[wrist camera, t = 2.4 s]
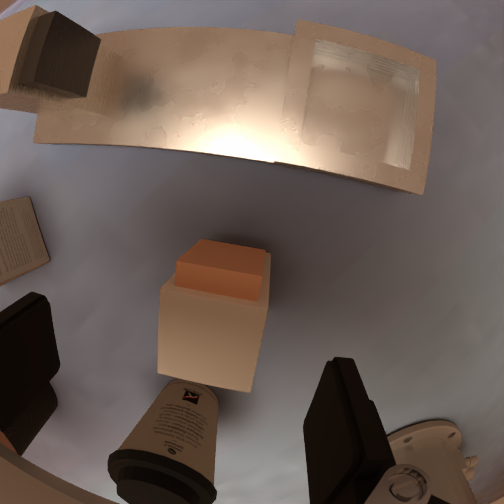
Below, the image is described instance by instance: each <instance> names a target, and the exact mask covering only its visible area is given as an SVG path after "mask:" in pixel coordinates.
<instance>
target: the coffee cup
mask: <svg viewBox="0 0 504 504" xmlns="http://www.w3.org/2000/svg"><path fill="white" fill-rule="evenodd" d="M218 404H219V403H218V400H217V397H216V396H215V394H214V393H213V392H212V390H210V389H209V388H208V387H206V386H205V385H203V384H201V383H197V382H192V381H188V380H184V379H177V380H174V381H172V382H170V383H169V384H167V385H166V386H165V388H164V389H163V390H162V392H161V393H160V394H159V396H158V397H157V398H156V400H155V401H154V402H153V404H152V405H151V406H150V408H149V409H148V410H147V412H146V413H145V414H144V416H143V417H142V418H141V420H140V421H139V422H138V424H137V425H136V426H135V428H134V429H133V430H132V432H131V433H130V434H129V436H128V437H127V438H126V440H125V441H124V442H123V444H122V445H121V446H120V447H119V449H118V450H116V451H115V452H113V453H112V454H110V455H109V459H108V472H109V474H110V477H111V479H112V480H113V481H114V482H115V483H116V484H117V494H118V496H120V497H121V498H122V499H124V500H125V501H126V502H127V503H129V504H212V503H213V502H214V501H215V500H216V496H217V491H216V489H215V487H214V471H215V452H216V435H217V419H218Z"/></svg>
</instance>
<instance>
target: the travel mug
mask: <svg viewBox="0 0 504 504" xmlns="http://www.w3.org/2000/svg"><path fill="white" fill-rule="evenodd" d="M56 407H57V398H56V395H55V393H54V391H53V389H52V387H51V385H50V384H49V382H48V383H47V384H46V386H45V387H44V388H43V389H42V390H41V391H40V392H39V394H38V395H37V396H36V397H35V398H34V399H33V401H32V402H31V403H30V404H29V405H28V407H27V408H26V409H25V410H24V411H23V412H22V414H21V415H20V416H19V417H18V418H17V420H16V421H15V422H14V423H13V425H12V426H11V427H7V428H6V429H5V431H4V432H3V433H2V432H1V431H0V443H1V444H3V445H4V446H6V447H7V448H9V449H10V450H12V451H13V452H15V453H16V454H18V455H20V456H22V454H23V453H24V452H25V450H26V449H27V447H28V446H29V445H30V443H31V442H32V440H33V439H34V438H35V436H36V435H37V434H38V432H39V431H40V430H41V428H42V427H43V426H44V424H45V423H46V422H47V420H48V419H49V418H50V416H51V415H52V413H53V412H54V411H55V409H56Z"/></svg>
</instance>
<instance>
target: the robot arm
mask: <svg viewBox="0 0 504 504" xmlns="http://www.w3.org/2000/svg"><path fill="white" fill-rule="evenodd" d="M59 368H60V360H59V355H58V350H57V345H56V340H55V334H54V328H53V322H52V315H51V307H50V303H49V302H48V300H47V298H46V297H45V296H44V295H41V294H38V293H35V292H30V293H28V294H27V295H25V296H24V297H22V298H21V299H19V300H18V301H16V302H15V303H13V304H12V305H10V306H9V307H7V308H6V309H4V310H3V311H1V312H0V431H1V432H2V433H3V432H4V431H5V429H6V428H7V427H11V426H12V425H13V423H14V422H15V421H16V420H17V418H18V417H19V416H20V415H21V414H22V412H23V411H24V410H25V409H26V408H27V407H28V405H29V404H30V403H31V402H32V401H33V399H34V398H35V397H36V396H37V395H38V394H39V392H40V391H41V390H42V389H43V388H44V387H45V386H46V384H47V383H48V382H49V381H50V380H51V379H52V378H53V377H54V375H55V374H56V373H57V372H58V371H59ZM303 432H304V442H305V452H306V463H307V474H308V485H309V497H310V504H478V503H477V501H476V499H475V496H474V494H473V492H472V490H471V488H470V485H469V483H468V480H470V479H472V478H473V476H474V472H475V470H474V466H476V465H477V463H478V457H477V456H470V457H467V458H463V456H462V455H461V453H460V451H459V449H460V447H461V443H462V434H461V432H460V431H459V429H458V427H457V426H456V425H455V424H454V423H451V422H449V421H443V420H437V421H428V422H423V423H419V424H416V425H413V426H410V427H407V428H405V429H402V430H400V431H397V432H395V433H393V434H391V435H390V436H388V437H387V436H386V433H385V430H384V428H383V425H382V422H381V419H380V417H379V414H378V412H377V409H376V406H375V404H374V402H373V401H372V400H369V398H368V395H367V393H366V390H365V387H364V385H363V382H362V380H361V377H360V374H359V372H358V369H357V367H356V364H355V362H354V360H353V359H352V358H343V357H334V358H333V360H332V361H327V363H326V365H325V368H324V371H323V373H322V376H321V379H320V381H319V384H318V387H317V389H316V392H315V395H314V397H313V400H312V402H311V405H310V407H309V410H308V412H307V415H306V417H305V420H304V425H303ZM0 504H119V503H116V502H114V501H111V500H108V499H106V498H103V497H101V496H98V495H96V494H93V493H91V492H88V491H86V490H84V489H82V488H79V487H77V486H75V485H73V484H71V483H69V482H67V481H65V480H63V479H61V478H59V477H57V476H55V475H53V474H51V473H49V472H47V471H45V470H43V469H42V468H40V467H38V466H36V465H35V464H33V463H31V462H29V461H28V460H26V459H24V458H23V457H21V456H20V455H18V454H16V453H15V452H13V451H12V450H10V449H9V448H7V447H6V446H4V445H3V444H1V443H0Z"/></svg>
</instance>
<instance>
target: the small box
mask: <svg viewBox="0 0 504 504" xmlns="http://www.w3.org/2000/svg"><path fill="white" fill-rule="evenodd" d="M49 261H50V258H49V256H48V253H47V250H46V248H45V245H44V242H43V239H42V236H41V233H40V230H39V227H38V224H37V220H36V217H35V214H34V210H33V207H32V203H31V200H30V197H25V198H18V199H12V200H7V201H1V202H0V286H2V285H4V284H6V283H8V282H9V281H11V280H13V279H15V278H17V277H19V276H21V275H23V274H25V273H27V272H29V271H31V270H33V269H35V268H37V267H39V266H41V265H43V264H46V263H48V262H49Z"/></svg>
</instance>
